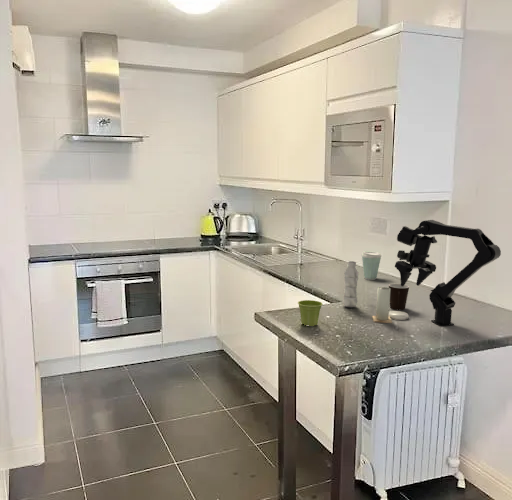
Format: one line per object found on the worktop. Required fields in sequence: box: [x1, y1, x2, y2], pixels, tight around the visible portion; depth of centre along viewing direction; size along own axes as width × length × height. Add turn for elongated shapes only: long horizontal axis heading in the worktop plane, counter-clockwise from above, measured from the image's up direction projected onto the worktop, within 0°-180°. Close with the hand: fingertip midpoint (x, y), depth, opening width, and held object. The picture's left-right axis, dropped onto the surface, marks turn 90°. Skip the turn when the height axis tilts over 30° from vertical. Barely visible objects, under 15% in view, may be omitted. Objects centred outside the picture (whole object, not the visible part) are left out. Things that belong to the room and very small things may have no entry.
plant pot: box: [297, 299, 323, 327], centre depth 199 cm, size 9×9×9 cm
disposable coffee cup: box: [361, 250, 382, 281], centre depth 285 cm, size 11×11×15 cm
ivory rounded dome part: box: [389, 310, 409, 321], centre depth 212 cm, size 8×8×2 cm
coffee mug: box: [388, 283, 410, 311], centre depth 224 cm, size 12×9×10 cm
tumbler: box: [375, 286, 390, 320], centre depth 207 cm, size 5×5×12 cm
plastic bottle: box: [342, 261, 360, 308], centre depth 225 cm, size 6×7×20 cm
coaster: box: [371, 315, 393, 324], centre depth 208 cm, size 7×7×1 cm
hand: (409, 285), depth 212 cm, fingers open, 9 cm apart
